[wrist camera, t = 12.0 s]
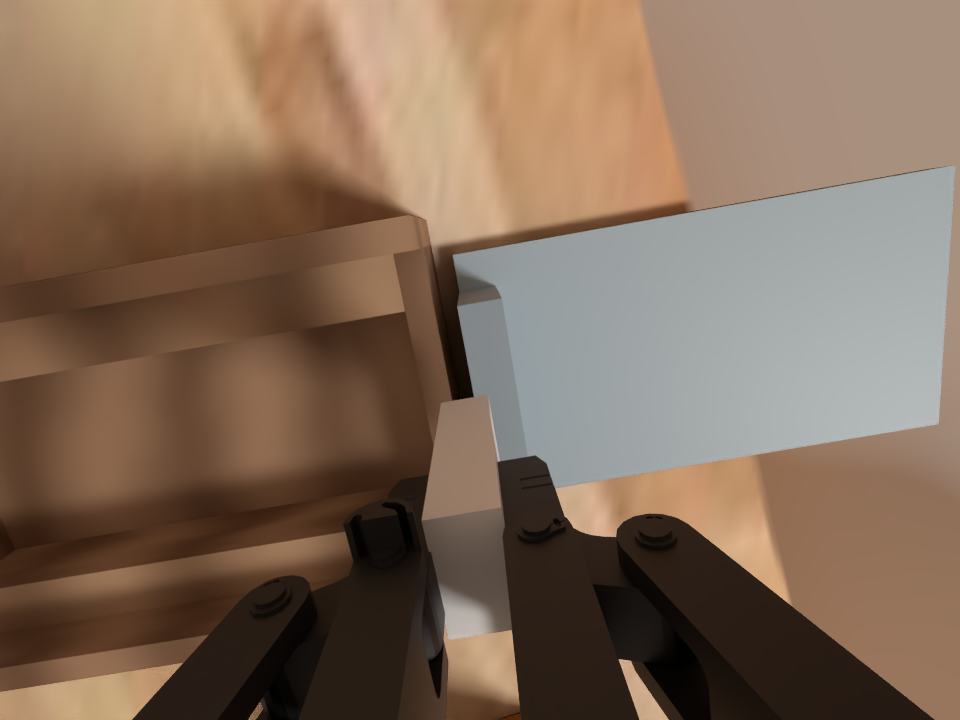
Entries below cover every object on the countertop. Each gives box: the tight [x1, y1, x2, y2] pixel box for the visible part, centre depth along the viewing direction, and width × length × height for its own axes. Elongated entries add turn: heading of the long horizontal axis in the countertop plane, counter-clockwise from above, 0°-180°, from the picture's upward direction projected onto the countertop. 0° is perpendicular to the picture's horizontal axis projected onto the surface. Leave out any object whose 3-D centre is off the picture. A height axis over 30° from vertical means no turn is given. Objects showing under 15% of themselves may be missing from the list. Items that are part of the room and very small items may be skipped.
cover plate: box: [453, 165, 955, 488], centre depth 20 cm, size 20×11×5 cm, turn 100°
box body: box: [0, 215, 460, 692], centre depth 19 cm, size 22×14×6 cm, turn 100°
